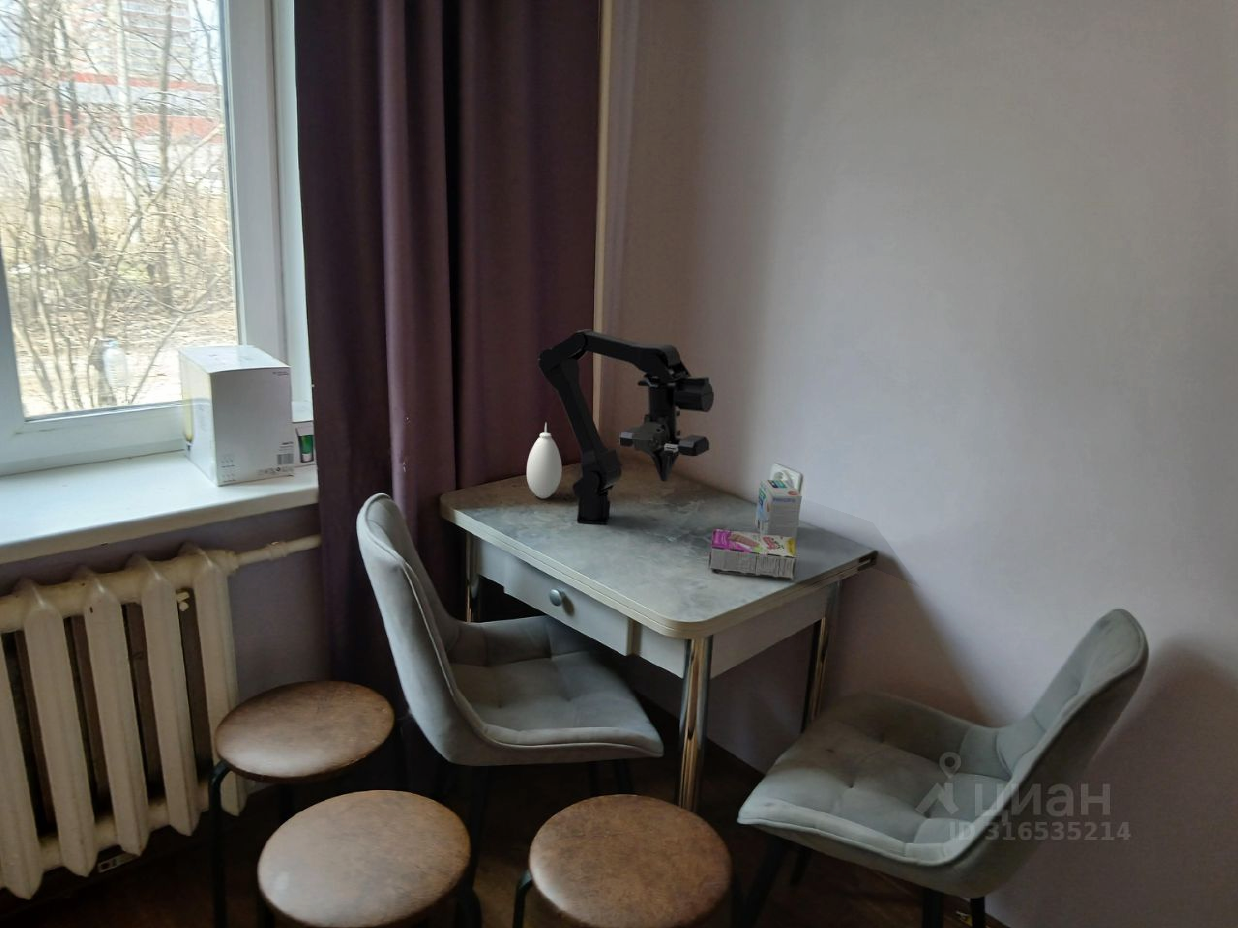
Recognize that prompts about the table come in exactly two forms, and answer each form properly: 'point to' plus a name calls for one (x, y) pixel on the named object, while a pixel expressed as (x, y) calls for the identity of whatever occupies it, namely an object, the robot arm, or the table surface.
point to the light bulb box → (778, 508)
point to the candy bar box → (752, 553)
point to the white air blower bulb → (544, 466)
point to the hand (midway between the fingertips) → (664, 480)
